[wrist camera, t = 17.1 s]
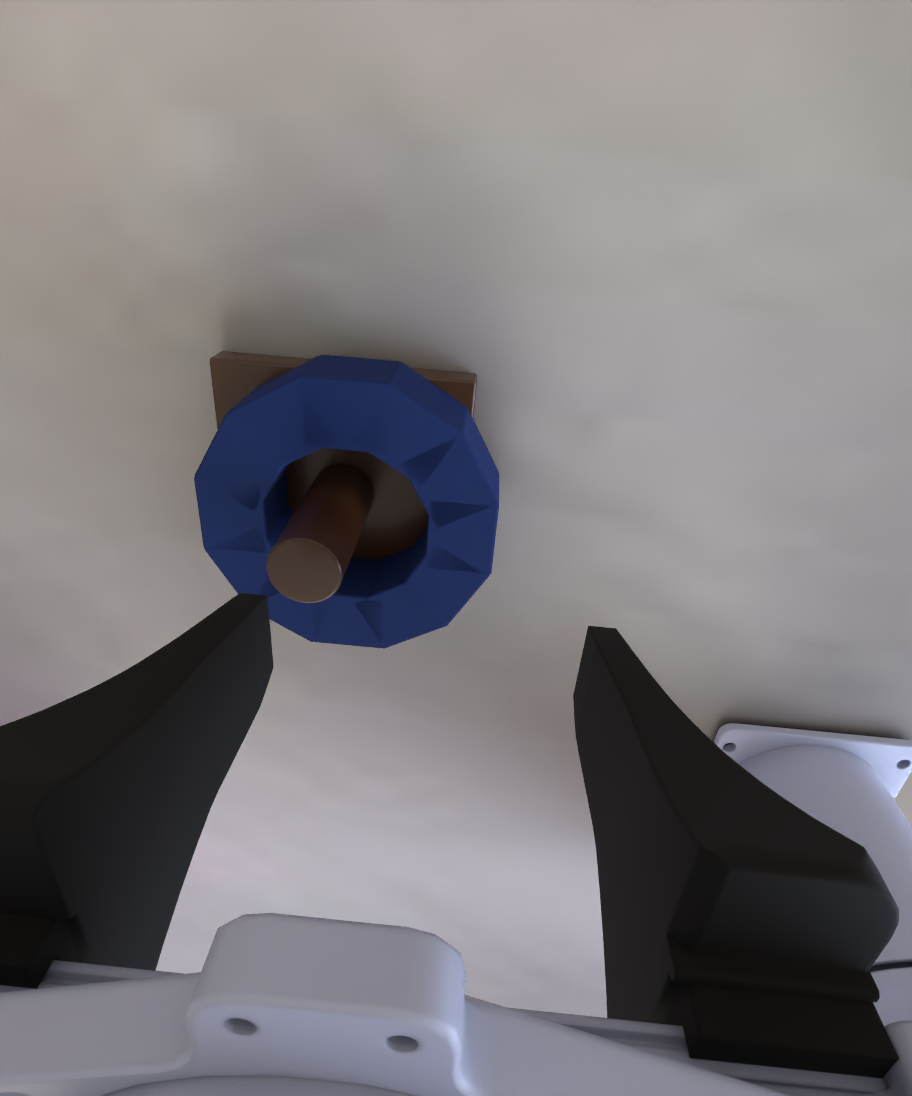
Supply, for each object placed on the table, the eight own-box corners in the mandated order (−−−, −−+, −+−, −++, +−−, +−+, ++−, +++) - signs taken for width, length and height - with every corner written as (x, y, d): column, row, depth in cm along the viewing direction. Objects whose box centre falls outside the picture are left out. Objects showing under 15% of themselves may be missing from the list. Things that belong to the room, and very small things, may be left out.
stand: (458, 589, 24) (446, 702, 19) (243, 569, 24) (173, 676, 19) (477, 373, 20) (469, 439, 15) (220, 350, 20) (123, 409, 15)
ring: (483, 615, 23) (481, 658, 21) (240, 593, 23) (214, 633, 21) (510, 370, 19) (511, 393, 17) (212, 344, 19) (176, 364, 17)
